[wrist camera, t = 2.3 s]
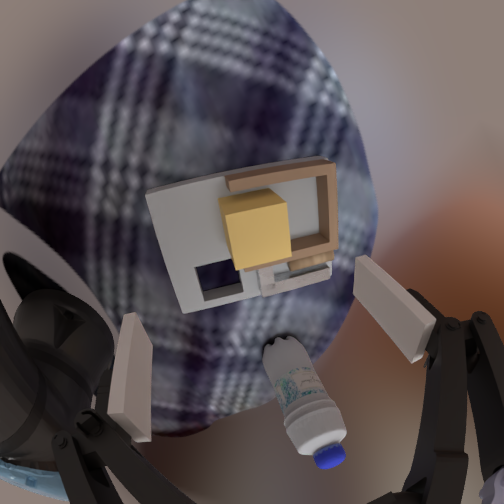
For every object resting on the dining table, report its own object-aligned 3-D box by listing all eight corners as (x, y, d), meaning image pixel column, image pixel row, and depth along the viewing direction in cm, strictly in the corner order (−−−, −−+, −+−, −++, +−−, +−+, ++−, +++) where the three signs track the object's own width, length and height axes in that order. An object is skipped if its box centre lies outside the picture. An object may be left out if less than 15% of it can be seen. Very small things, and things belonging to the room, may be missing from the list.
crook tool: (259, 289, 32) (262, 297, 30) (254, 261, 30) (258, 268, 28) (324, 272, 33) (329, 278, 31) (323, 244, 31) (329, 249, 30)
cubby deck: (182, 303, 32) (184, 328, 28) (147, 189, 26) (141, 202, 22) (324, 267, 35) (341, 286, 31) (319, 155, 28) (340, 162, 24)
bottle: (309, 335, 40) (373, 447, 22) (285, 365, 42) (334, 474, 24) (273, 326, 37) (332, 455, 20) (249, 358, 39) (291, 481, 22)
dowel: (287, 267, 31) (292, 273, 30) (285, 254, 30) (291, 260, 29) (328, 257, 32) (334, 262, 30) (327, 244, 31) (333, 249, 30)
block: (227, 245, 28) (236, 270, 24) (217, 198, 26) (225, 215, 22) (274, 234, 29) (291, 256, 25) (268, 187, 27) (286, 202, 22)
